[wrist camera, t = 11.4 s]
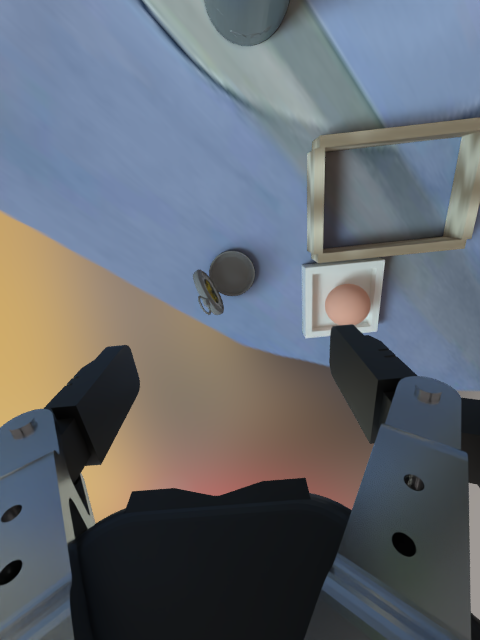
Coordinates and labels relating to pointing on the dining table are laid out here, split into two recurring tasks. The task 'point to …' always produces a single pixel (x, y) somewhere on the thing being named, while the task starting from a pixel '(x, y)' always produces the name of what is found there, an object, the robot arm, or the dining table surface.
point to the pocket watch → (224, 280)
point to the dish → (330, 275)
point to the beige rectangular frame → (473, 160)
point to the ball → (347, 304)
